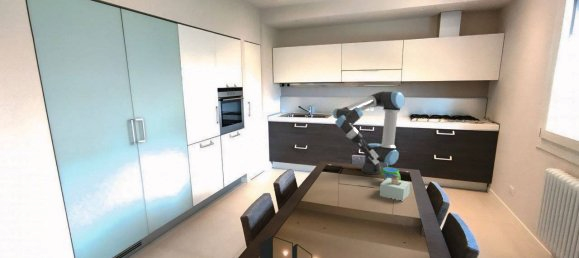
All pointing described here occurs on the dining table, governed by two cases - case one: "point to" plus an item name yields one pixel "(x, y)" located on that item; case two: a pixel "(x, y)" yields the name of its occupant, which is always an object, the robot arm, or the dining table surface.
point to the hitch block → (394, 189)
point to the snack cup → (390, 172)
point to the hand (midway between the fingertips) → (377, 160)
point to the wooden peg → (395, 179)
